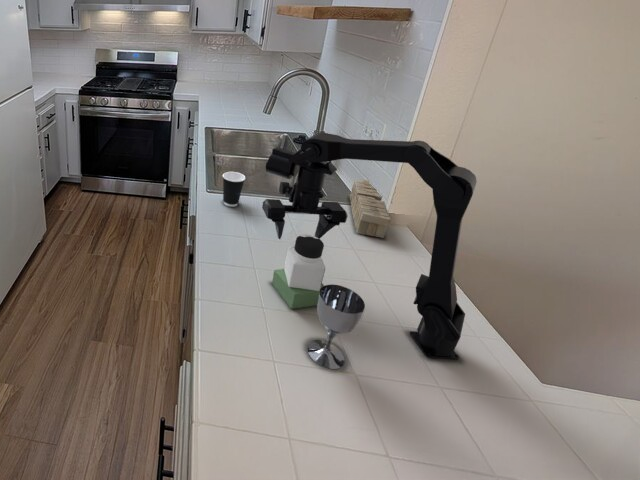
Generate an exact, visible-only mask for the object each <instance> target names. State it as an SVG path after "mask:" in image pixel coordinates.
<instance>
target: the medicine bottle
mask: <svg viewBox="0 0 640 480" xmlns="http://www.w3.org/2000/svg"><path fill="white" fill-rule="evenodd" d="M324 248H325V244H324V242H323V241H322V240H321V238H320V239H319V238H317V237H315V235H312V234H307V233H306V234H299V235H297V236H296V239H295V243H294V246H288V248H287V253H286V256H285V257H286V258H285V262H284V267H283V269H284V271H285V274H286V278H287V282H288V286H289V287H293V288H300V289H307V290H314V291H320V288H321V284H323V280H324V276H325V272H326V269H327V268H326V264H325V263H324V260H323V258H322V256H323V251H324Z"/></svg>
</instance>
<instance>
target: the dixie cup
mask: <svg viewBox="0 0 640 480" xmlns="http://www.w3.org/2000/svg"><path fill="white" fill-rule="evenodd" d="M245 180H246V176H245V175H244V174H243V173H241V172H236V171H227V172H224V173H223V174H222V187H223V188H222V200H223V204H224V206H227V207H230V208H231V207H232V208H233V207H237V206H238V203H239V202H240V197H241V195H242V190H243V186H244V183H245Z"/></svg>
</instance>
